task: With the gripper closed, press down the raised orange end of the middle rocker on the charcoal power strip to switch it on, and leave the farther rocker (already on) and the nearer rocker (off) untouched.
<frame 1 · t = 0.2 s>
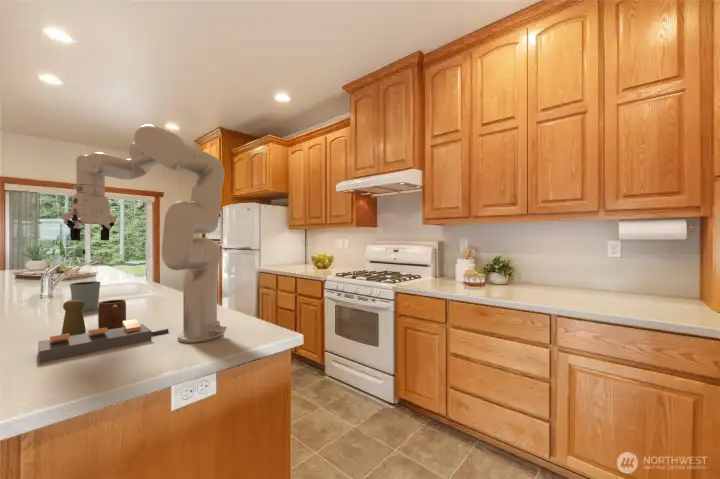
hand: (90, 240, 108), 31 cm above the table, tool pointing down, fingers open, 9 cm apart
power strip: (98, 346, 90), on the table
rocker 1: (59, 338, 84), point 4 cm above the table, hinge at 12.0°
mug: (113, 330, 107), on the table
grey cup: (85, 310, 136), on the table
middle rocker: (98, 332, 90), point 4 cm above the table, hinge at 12.0°
pepper mill: (73, 333, 103), on the table
rocker 2: (131, 326, 96), point 4 cm above the table, hinge at -12.0°
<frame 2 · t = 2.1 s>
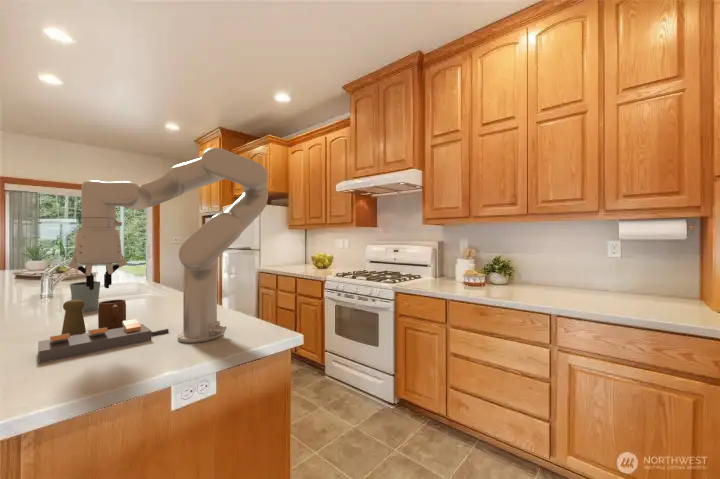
hand: (99, 287, 89), 17 cm above the table, tool pointing down, fingers closed
nothing on the table moved.
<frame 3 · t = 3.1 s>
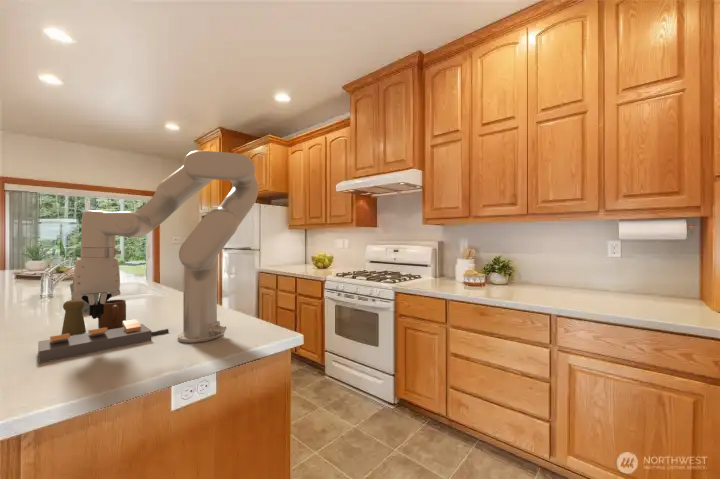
hand: (96, 317, 89), 9 cm above the table, tool pointing down, fingers closed
nothing on the table moved.
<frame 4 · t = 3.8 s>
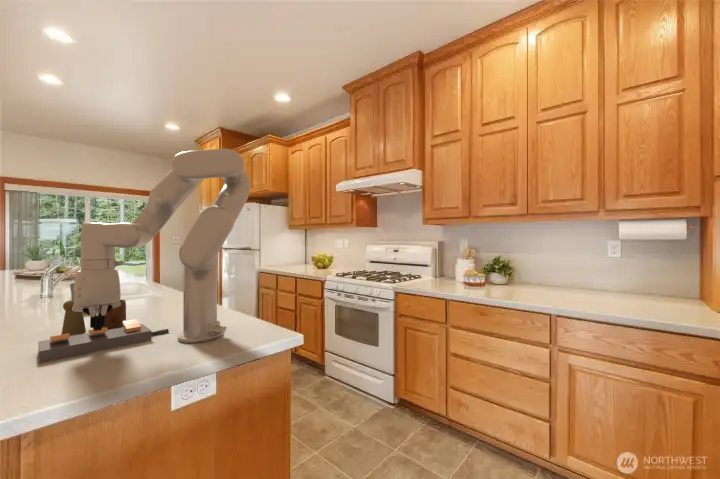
hand: (97, 329, 89), 5 cm above the table, tool pointing down, fingers closed
middle rocker: (98, 332, 90), point 4 cm above the table, hinge at 11.8°, touching gripper
everything else where it was.
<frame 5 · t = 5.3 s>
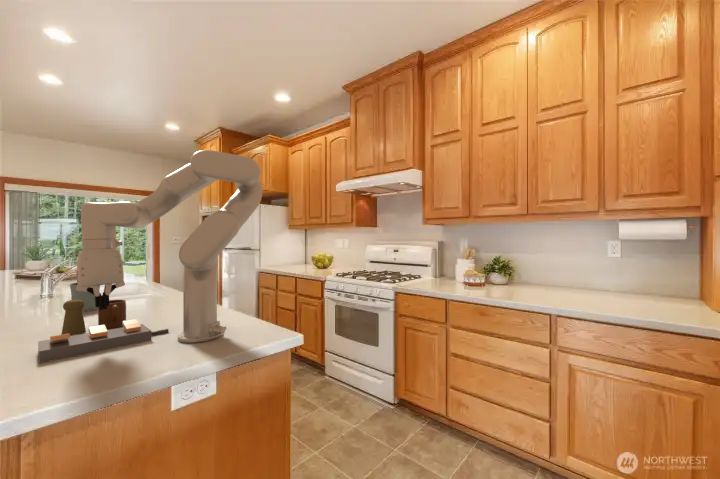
hand: (102, 308, 89), 11 cm above the table, tool pointing down, fingers closed
middle rocker: (98, 332, 90), point 4 cm above the table, hinge at -7.9°
everything else where it was.
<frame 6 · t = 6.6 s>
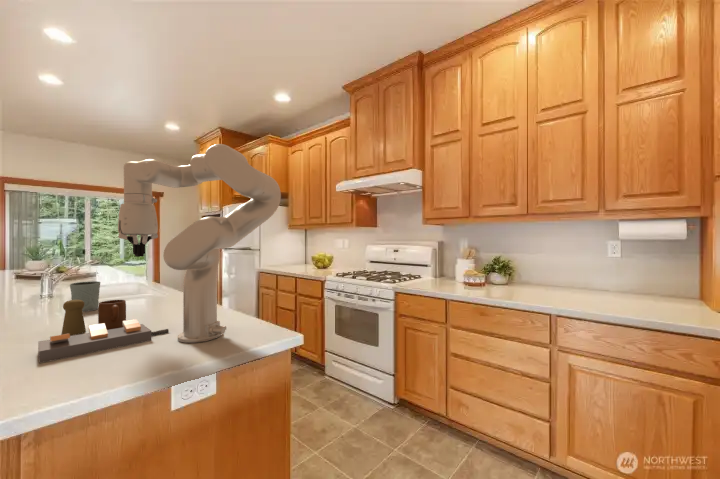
hand: (139, 256, 101), 26 cm above the table, tool pointing down, fingers closed
middle rocker: (98, 332, 90), point 4 cm above the table, hinge at -19.3°, touching power strip
everything else where it was.
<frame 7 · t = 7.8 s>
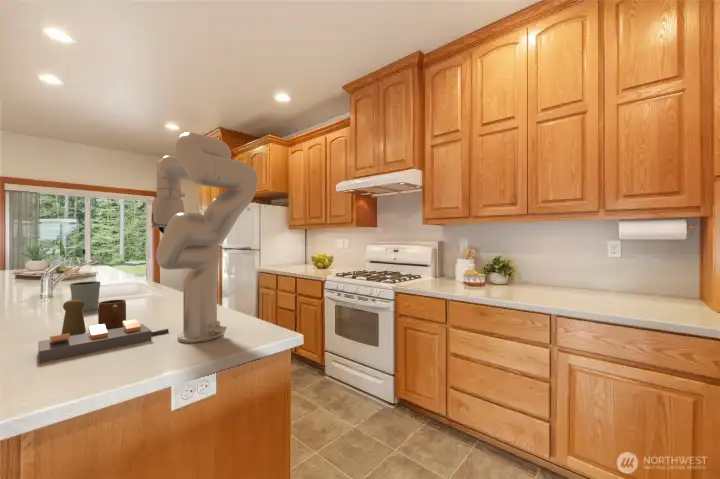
hand: (168, 245, 113), 29 cm above the table, tool pointing down, fingers closed
middle rocker: (98, 332, 90), point 4 cm above the table, hinge at -13.8°
everything else where it was.
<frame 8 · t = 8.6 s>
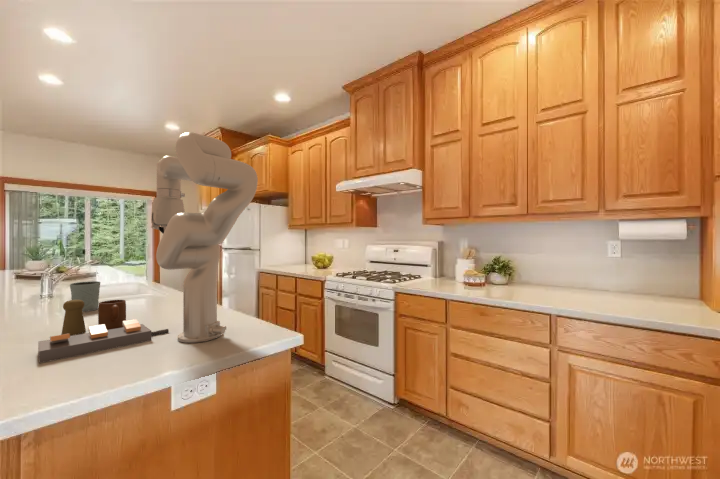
hand: (168, 245, 113), 29 cm above the table, tool pointing down, fingers closed
middle rocker: (98, 332, 90), point 4 cm above the table, hinge at -11.1°
everything else where it was.
at the end: middle rocker at -11° (first picture: +12°); rocker 2 at -12° (first picture: -12°); rocker 1 at +12° (first picture: +12°) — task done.
